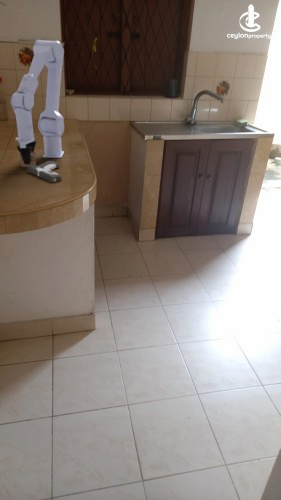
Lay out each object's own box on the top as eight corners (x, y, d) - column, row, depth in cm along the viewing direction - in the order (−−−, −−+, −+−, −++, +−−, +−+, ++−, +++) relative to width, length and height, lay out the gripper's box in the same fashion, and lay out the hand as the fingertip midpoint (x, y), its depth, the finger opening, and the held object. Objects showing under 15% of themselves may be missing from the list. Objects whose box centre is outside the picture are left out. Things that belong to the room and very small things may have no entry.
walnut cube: (24, 163, 145) (22, 151, 142) (36, 163, 145) (35, 151, 142) (21, 167, 140) (20, 154, 138) (34, 167, 141) (33, 154, 138)
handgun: (50, 159, 143) (24, 165, 135) (79, 170, 133) (52, 177, 125) (51, 165, 145) (25, 171, 137) (79, 177, 134) (53, 184, 127)
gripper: (18, 122, 141) (22, 156, 148) (9, 130, 128) (14, 166, 135) (36, 123, 141) (39, 156, 148) (29, 131, 129) (33, 167, 136)
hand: (28, 161), depth 142 cm, fingers open, 6 cm apart
